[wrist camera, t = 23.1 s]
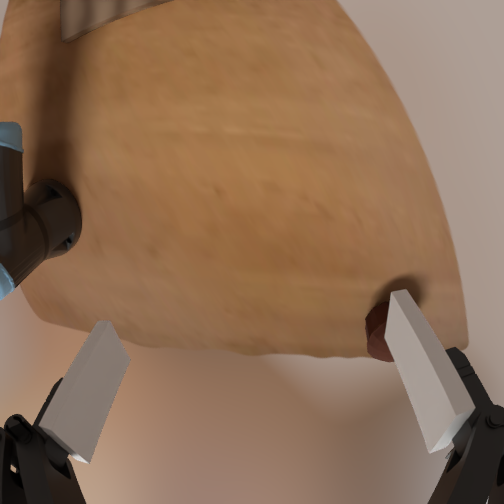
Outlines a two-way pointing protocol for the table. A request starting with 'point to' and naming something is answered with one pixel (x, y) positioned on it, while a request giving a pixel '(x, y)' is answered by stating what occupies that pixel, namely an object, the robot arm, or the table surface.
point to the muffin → (378, 333)
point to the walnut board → (96, 14)
